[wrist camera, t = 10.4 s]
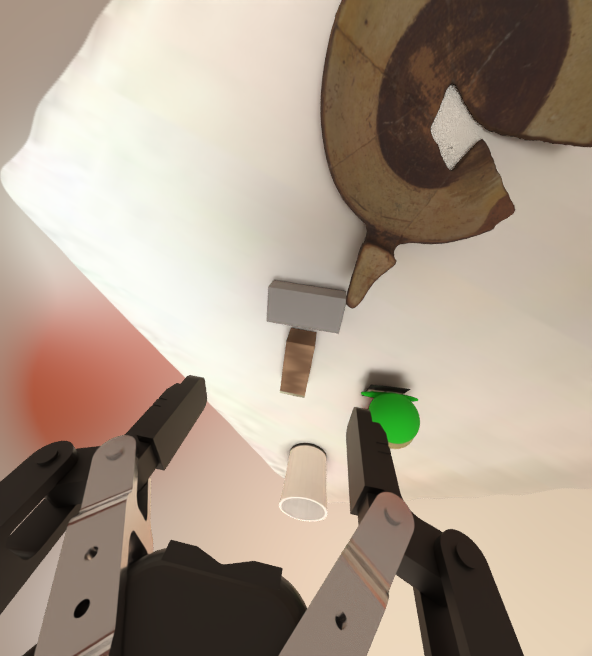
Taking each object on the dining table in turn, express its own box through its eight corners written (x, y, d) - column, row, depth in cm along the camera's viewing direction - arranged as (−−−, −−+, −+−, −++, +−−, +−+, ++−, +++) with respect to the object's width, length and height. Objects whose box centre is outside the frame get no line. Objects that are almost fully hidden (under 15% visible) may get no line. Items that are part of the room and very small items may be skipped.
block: (314, 346, 30) (304, 397, 35) (316, 332, 34) (306, 380, 38) (286, 341, 30) (279, 392, 35) (291, 327, 34) (284, 376, 39)
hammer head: (345, 291, 30) (347, 299, 27) (338, 323, 32) (338, 333, 30) (273, 280, 30) (268, 286, 28) (271, 312, 33) (266, 321, 30)
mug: (280, 449, 49) (269, 503, 40) (310, 436, 46) (304, 492, 37) (311, 474, 52) (307, 529, 43) (342, 463, 49) (344, 521, 40)
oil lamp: (671, 70, 18) (879, -14, 11) (367, 308, 31) (376, 336, 24) (543, -297, 12) (793, -894, 6) (241, 180, 25) (210, 170, 19)
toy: (393, 408, 43) (428, 387, 30) (397, 454, 39) (439, 452, 26) (349, 402, 44) (365, 380, 31) (349, 447, 40) (367, 442, 27)
